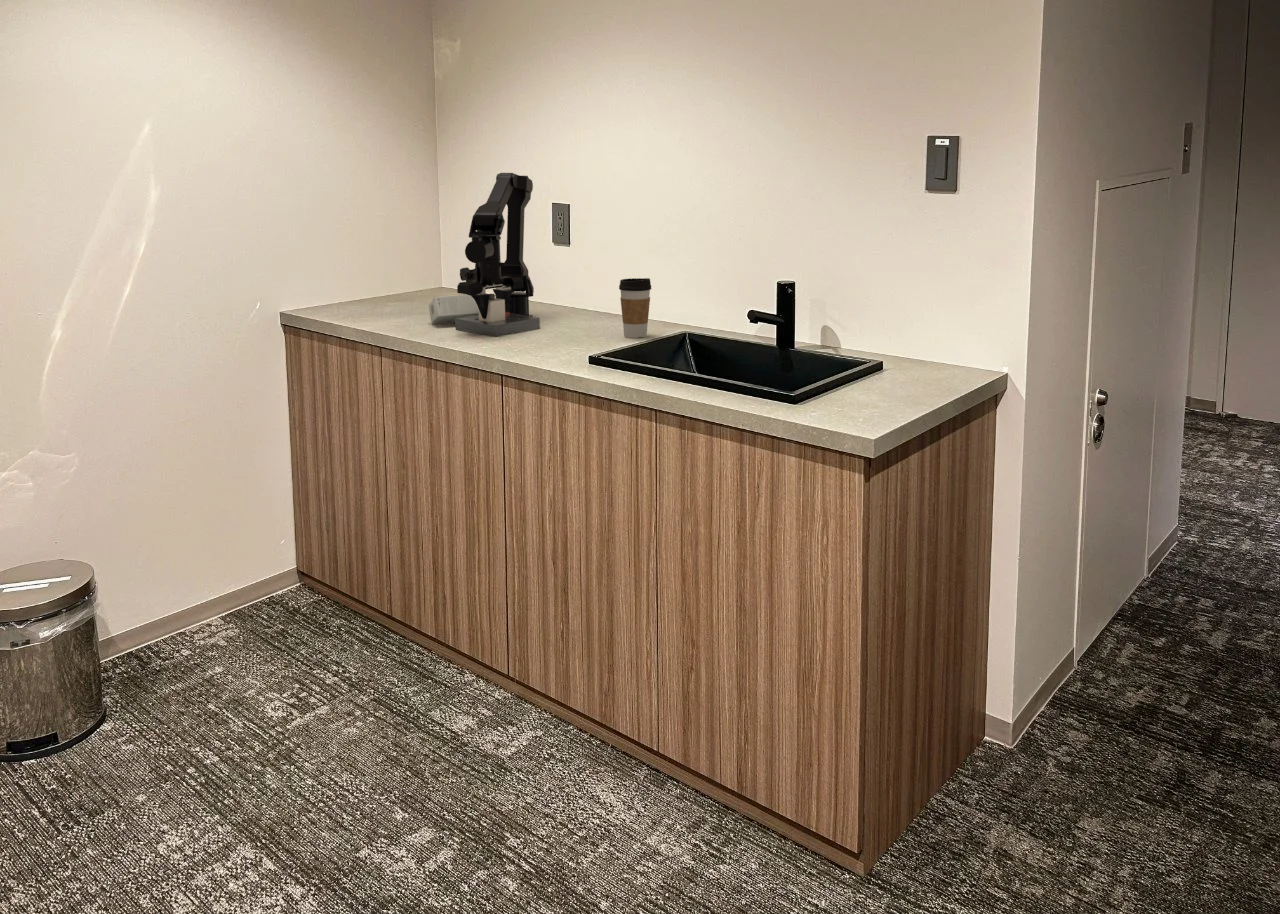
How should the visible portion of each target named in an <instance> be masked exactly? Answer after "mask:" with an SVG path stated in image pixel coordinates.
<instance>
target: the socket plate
mask: <svg viewBox="0 0 1280 914" xmlns="http://www.w3.org/2000/svg"><path fill="white" fill-rule="evenodd" d="M540 322H541V320H540V316H539V317H538V316H533V317H532V316H526V315H520V314H513V313H509V312H505V320H501V321H495V322H486V321H480V320H479V315H475V316H468V317H462V318H456V319H455V322H454V323H455V324H454V326H455V327H454V328H455V330H456V331H460V332H465V333H471V334H472V333H473V334H478V335H483V336H489V337H490V336H491V337H495V338H496V337H502V336H507V335H513V334H518V333H522V332H523V333H524V332H528V331H533V330H535V331H536V330H539V329H541V323H540Z"/></svg>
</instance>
